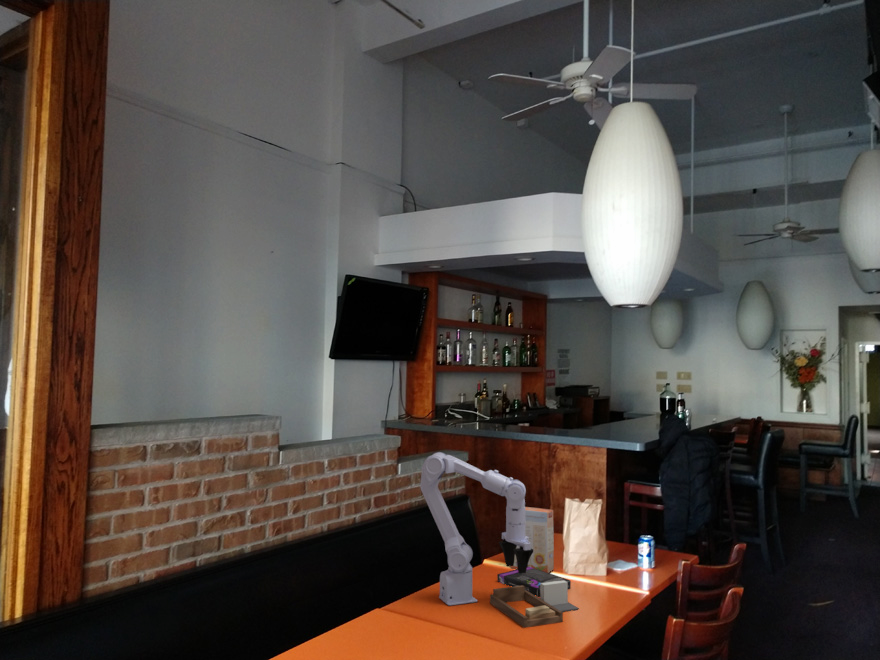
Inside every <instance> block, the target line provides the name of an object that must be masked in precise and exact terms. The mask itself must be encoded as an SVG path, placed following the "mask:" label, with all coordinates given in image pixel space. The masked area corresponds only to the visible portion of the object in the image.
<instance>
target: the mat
mask: <svg viewBox="0 0 880 660" xmlns="http://www.w3.org/2000/svg"><path fill="white" fill-rule="evenodd" d="M539 598H540V599H541V597H539ZM551 606H553V607H555V608H556V609H558V610H560V611H561V612H563V613H566V612H565V611H567V612H572V611H571V610H573V611H578V609H579V610H580V608H579V607H578V606H576V605H574V604H572V603H570V602H569V601H568V603H564V604H557V605H551Z"/></svg>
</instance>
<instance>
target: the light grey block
mask: <svg viewBox="0 0 880 660" xmlns="http://www.w3.org/2000/svg"><path fill="white" fill-rule="evenodd" d="M568 590H569V589H568V582H566V581H564V580H562V581H554V582H546V583H540V591H541V597H540V598H541V600H543V601H545V602H546V603H548V604H550V605H557V604H564V603H568V602H569V601H568V598H569V597H568V596H569V595H568Z"/></svg>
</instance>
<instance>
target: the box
mask: <svg viewBox="0 0 880 660" xmlns="http://www.w3.org/2000/svg"><path fill="white" fill-rule="evenodd" d="M496 578H497V583H499V582H500V583H499V584H503V585H505V584H506V585H505V586H508V585H509V586H508V587H510V586H512V587H514V586H522V585H523V586H525V590H527V591H528V592H530V593H532V594H533V595H536V596H537V597H538V596H539V597H538V598H541V591H540V583H546V582H554V581H562V580H564V581H566V582H568V590H571V584H572V582H571V580H570V579H568V578H566V577H565V578H564V577H562V576H558V575H556V574H552V573H551V572H550V573H547V572H544V571H541V570H538V569H535V568H532V567H528V566H527V570H526V573H521V574H520V573H519V572H518V569H514V570H510V571H506V572H501V573H497V577H496Z"/></svg>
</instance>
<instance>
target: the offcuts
mask: <svg viewBox="0 0 880 660" xmlns="http://www.w3.org/2000/svg"><path fill="white" fill-rule="evenodd" d="M524 612H525V615H524V616H526V617H527V620H530V619H537V618H543V617H550V616H555V611H553V610H551V609H549V607H547V606H545V605H544V606H538V607H535V606H533V607H532V606H531V607H527V608H525V611H524Z"/></svg>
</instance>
